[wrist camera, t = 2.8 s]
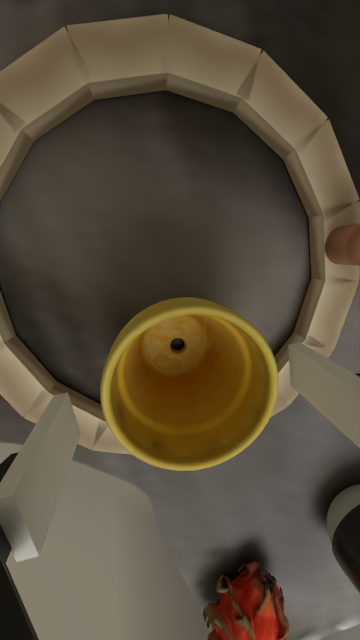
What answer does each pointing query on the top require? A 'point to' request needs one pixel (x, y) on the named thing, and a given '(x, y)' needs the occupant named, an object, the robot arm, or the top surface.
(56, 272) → the top surface
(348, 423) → the robot arm
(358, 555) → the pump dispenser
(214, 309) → the plant pot
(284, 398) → the beige segmented ring
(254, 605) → the dragon fruit
